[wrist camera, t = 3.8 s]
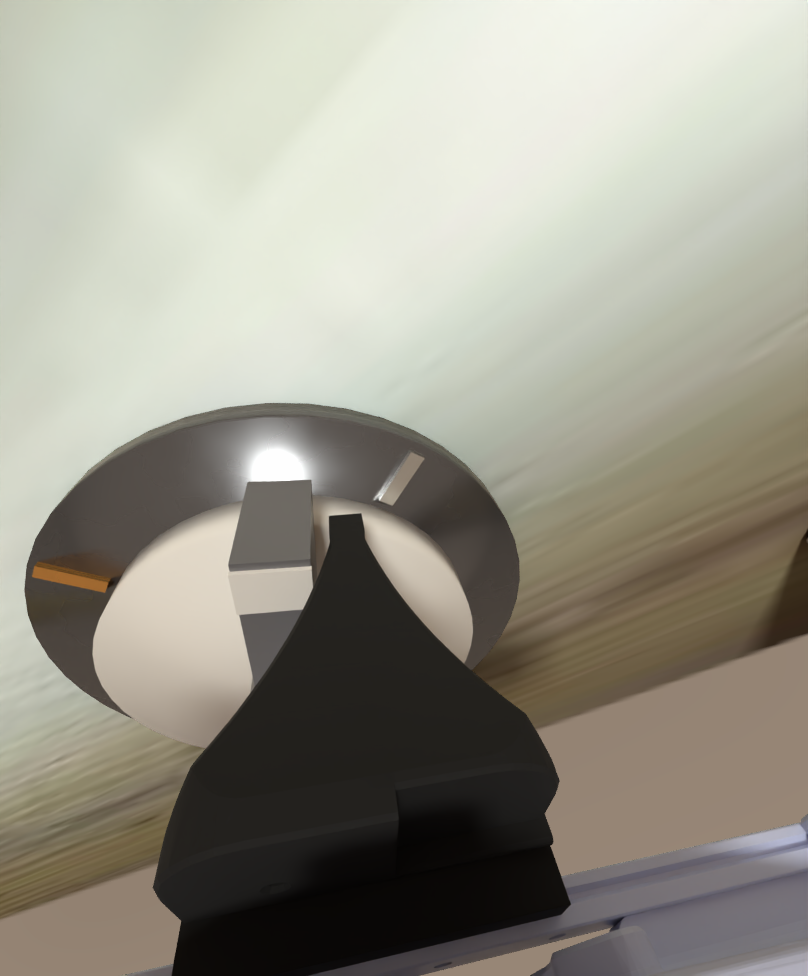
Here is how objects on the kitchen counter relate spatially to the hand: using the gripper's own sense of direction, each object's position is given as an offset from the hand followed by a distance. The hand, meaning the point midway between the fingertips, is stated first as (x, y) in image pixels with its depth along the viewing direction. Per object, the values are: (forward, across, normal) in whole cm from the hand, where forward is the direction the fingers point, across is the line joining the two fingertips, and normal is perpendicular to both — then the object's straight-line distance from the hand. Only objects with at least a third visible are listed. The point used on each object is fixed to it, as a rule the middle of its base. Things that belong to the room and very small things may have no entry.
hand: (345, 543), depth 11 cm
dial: (+2, +2, +6) cm, 7 cm away
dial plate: (+4, +2, +6) cm, 8 cm away
